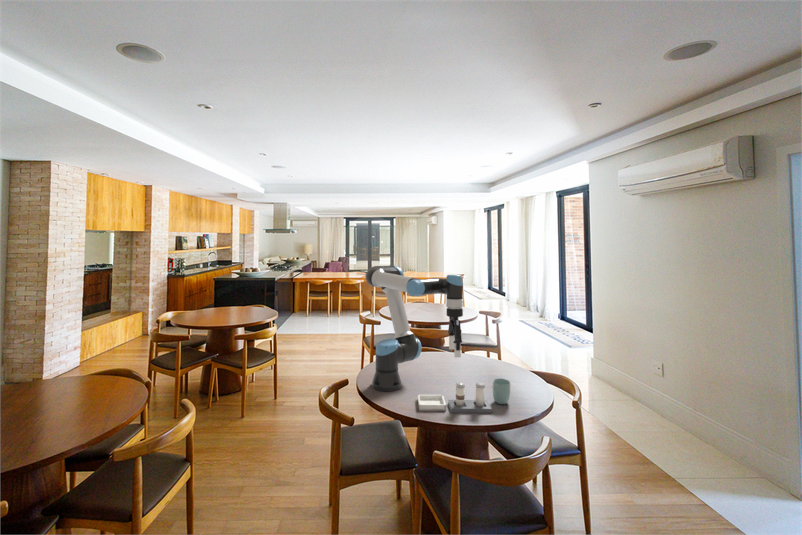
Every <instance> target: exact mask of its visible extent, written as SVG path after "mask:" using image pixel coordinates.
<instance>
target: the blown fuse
mask: <svg viewBox="0 0 802 535" xmlns="http://www.w3.org/2000/svg"><path fill="white" fill-rule="evenodd" d="M465 388H466V384H465V383H464V382H460V381H459V382H456V383H455V400H456V405H455V407H465V406H464V400H465V394H466V393H465V392H466V391H465Z"/></svg>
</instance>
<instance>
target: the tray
mask: <svg viewBox="0 0 802 535" xmlns="http://www.w3.org/2000/svg"><path fill="white" fill-rule="evenodd" d="M417 404H418V406H417V407H418V410H419V411H442V412H443V411H444V412H445V411H447V403H446V400H445V397H444V395H443V394H417Z"/></svg>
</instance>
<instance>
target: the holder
mask: <svg viewBox="0 0 802 535" xmlns="http://www.w3.org/2000/svg"><path fill="white" fill-rule="evenodd" d="M455 405H456V399H448V406H449V409H450V412H451V413H453V414H454V413H455V414H456V413H457V414H458V413H459V414H460V413H461V414H463V413H464V414H465V413H466V414H467V413H468V414H469V413H470V414H475V413H477V414H486V413H487V414H492V413H493V411H494V410H493V407H492V405H491V404H490V402H489V401H488V399H484V407H476V406H475V405H476V399H464V407H455Z"/></svg>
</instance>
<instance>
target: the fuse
mask: <svg viewBox="0 0 802 535" xmlns="http://www.w3.org/2000/svg"><path fill="white" fill-rule="evenodd" d="M485 388H486V384H485V383H484V382H476V383H475V400H476V405H475V406H476V407H484V400H485V390H486V389H485Z"/></svg>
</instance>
